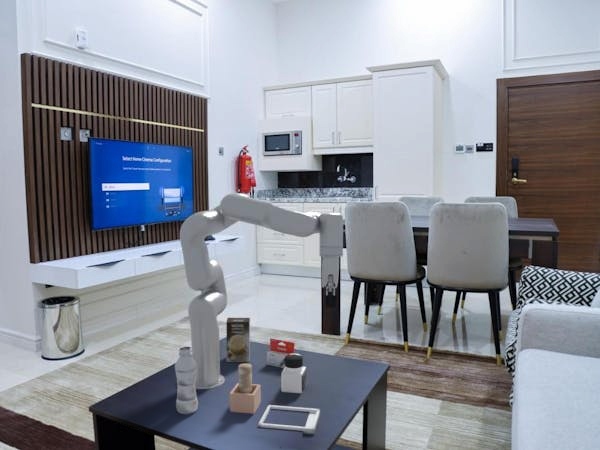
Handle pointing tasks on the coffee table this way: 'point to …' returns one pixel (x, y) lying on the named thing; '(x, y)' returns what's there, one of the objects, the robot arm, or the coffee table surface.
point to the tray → (308, 428)
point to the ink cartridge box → (279, 352)
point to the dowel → (245, 378)
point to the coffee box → (238, 339)
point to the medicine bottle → (293, 374)
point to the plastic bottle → (186, 382)
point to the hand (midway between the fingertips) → (330, 303)
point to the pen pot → (245, 400)
